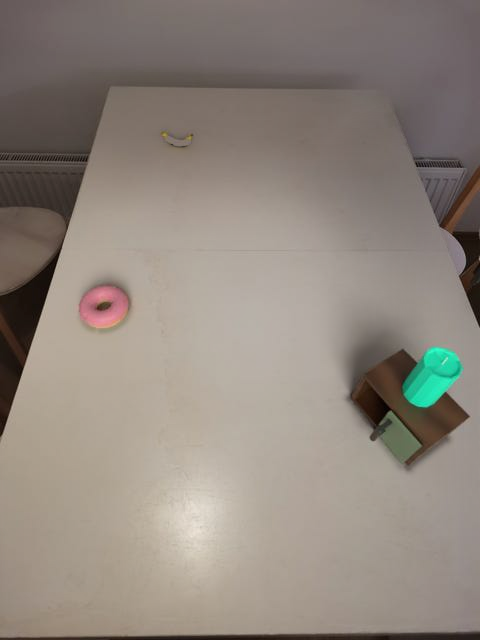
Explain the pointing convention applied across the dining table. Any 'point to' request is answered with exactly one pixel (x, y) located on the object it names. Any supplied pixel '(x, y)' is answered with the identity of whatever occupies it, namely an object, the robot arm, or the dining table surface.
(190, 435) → the dining table surface
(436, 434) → the cupboard
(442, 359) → the candle
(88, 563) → the dining table surface
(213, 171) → the dining table surface
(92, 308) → the doughnut
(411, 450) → the sliding door
